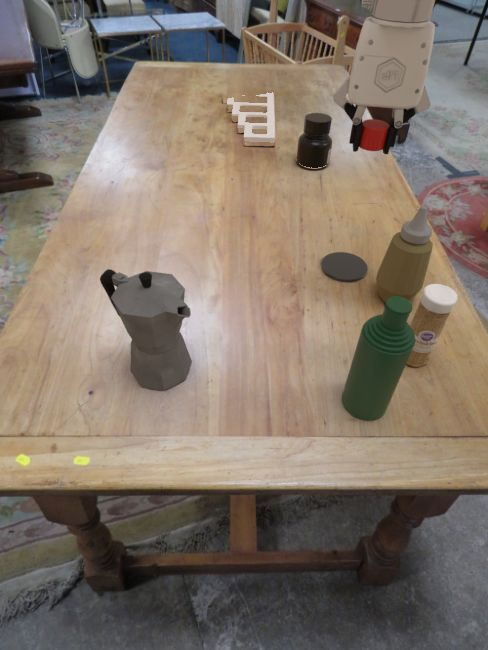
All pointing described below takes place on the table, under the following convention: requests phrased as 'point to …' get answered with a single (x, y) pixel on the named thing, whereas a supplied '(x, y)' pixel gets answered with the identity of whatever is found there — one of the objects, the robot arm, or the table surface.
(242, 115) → the holder
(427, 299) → the sprinkles bottle
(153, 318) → the coffeepot
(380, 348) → the bottle
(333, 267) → the coaster
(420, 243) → the squeeze bottle
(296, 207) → the table surface
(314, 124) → the ink bottle
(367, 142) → the cap
